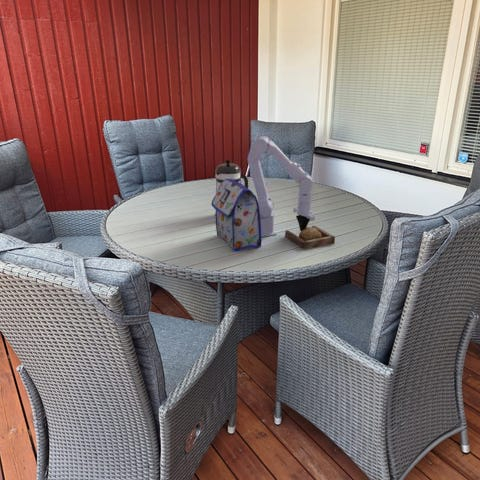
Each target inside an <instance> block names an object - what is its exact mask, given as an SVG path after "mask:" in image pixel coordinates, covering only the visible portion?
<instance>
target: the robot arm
mask: <svg viewBox="0 0 480 480" xmlns="http://www.w3.org/2000/svg"><path fill="white" fill-rule="evenodd" d="M264 154H265V155H266V156H267V155H268V156H273V157H274V158H275V159H276V160H277V161H278V162H280V164H281V165H283V166H284V167H285V172H286V174H287V175H289V176H290V178H292V180H293V181H294V182H296V183H298V188H299V189H298V196H297V197H298V200H297V206H296V207H293V213H296V216H295V218H296V220H297V222H298V226H299V230H300V232H302V230H304V229H305V228H308V225H309V222H314V221H316V220H315V219H316V216H315V215H314V214H313V211H312V209H311V206H312V187H313V178H312V176H311V175H310V174H309V173H308V172H307V171H304V169H303V168H302V167H301V164H300V163H297V162H293V161H291V160H290V159H289V157H287V156H286V154H284V152H283V151H282V150H281V149H280V148H279V147H278V146H277V144H276V143H275V142H274V141H272V140H270V138H269V137H268V136H267V135H260V136H259V137H257V139H255V140H254V141H253V143H252V144H251V145H250V149H249V153H248V155H247V163H248V166H249V171H250V174H251V178H252V181H253V185H254V190H255V193H256V198H257V201H258V205H259V210H260V220H261V238H264V237H265V238H266V237H270V236H276V235H277V234H278V233H277V232H276V231H274V221H275V220H274V219H275V218H274V216H275V215H274V212H273V209H275V208H274V207H275V204H274V201H273V200H272V199H271V196H270V194H269V192H268V188H267V184H266V181H265V177H264V176H265V175H264V172H263V170H262V165H261V162H260V159H261V157H262V156H263V155H264Z"/></svg>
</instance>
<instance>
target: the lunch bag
mask: <svg viewBox="0 0 480 480" xmlns="http://www.w3.org/2000/svg"><path fill="white" fill-rule="evenodd" d="M210 204H211V207H212V208H213V209H215V213H216V216H215V227H216V228H215V229H216V230H215V231H216V235H217V236H219V237H220V238H222V239H223V240H224V241H225V242H226V243H227V244H228V245H229V246H230V248H231V249H232V250H233V251H234V252H237V251H243V250H247V249H251V248H261V247H262V243H263V242H262V237H261V220H260V210H259V205H258V197H257V195H255V193H254V192H253V191H252V190H251V189H249V187H248V188H246V187H245V184H243V183H242V182H241V183H239V182H235V181H234V180H233V179H225V180H224V181H222V183H221V184H220V186H219V189H218V191H217V193H215V195H214V197H213V199H212V200H211V203H210Z"/></svg>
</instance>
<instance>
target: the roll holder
mask: <svg viewBox="0 0 480 480" xmlns="http://www.w3.org/2000/svg"><path fill="white" fill-rule="evenodd" d="M311 227H313V228H315V229H317V230H318V231H319V232H320V233H321V235H322V238H318V239H313V240H308V241H304V240H303V239H301V238H299V235H296V234H295V233H293V232H292V231H290V230H288V229H287V230H284V231H285V233H284V237H285V238H286V239H287V240H289V241H290V242H292V243H293V244H295V245H296V246H298V247H299V248H301V249H302V250H307V249H311V248H317V247H322V246H327V245H330V244H335V240H336V236H335V235H333V234H330V233H329V232H327V230H324V229H322V228H320V227H318V226H316V225H311Z"/></svg>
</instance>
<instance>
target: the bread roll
mask: <svg viewBox="0 0 480 480" xmlns="http://www.w3.org/2000/svg"><path fill="white" fill-rule="evenodd" d="M298 237H299V238H301V239H303V240H304V241H308V240H313V239H318V238H322V235H321V233H320V232H319V231H318V230H317V229H315V228H313V227H312V226H310V227H309V226H307V228H305V229H304V230H302V232H301V231H300V233H299V234H298Z"/></svg>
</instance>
